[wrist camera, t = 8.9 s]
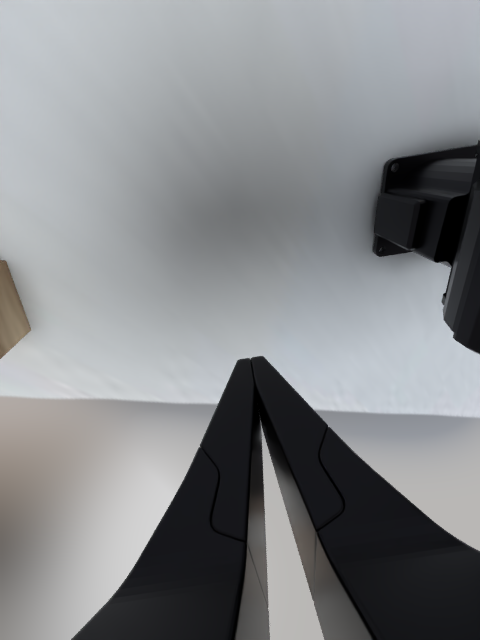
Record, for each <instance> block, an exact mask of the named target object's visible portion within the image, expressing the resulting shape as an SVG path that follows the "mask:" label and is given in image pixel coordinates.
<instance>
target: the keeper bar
mask: <svg viewBox="0 0 480 640" xmlns="http://www.w3.org/2000/svg"><path fill="white" fill-rule="evenodd" d="M30 331H31V328H30V325H29V322H28V320H27V317H26V314H25V311H24V309H23V306H22V303H21V300H20V298H19V295H18V292H17V290H16V287H15V284H14V281H13V279H12V276H11V273H10V270H9V268H8V265H7V262H6V261H2V260H0V359H1V358H2V357H3V356H4V355H5V354H6V353H7V352H8V351H9V350H10V349H11V348H13V347H14V346H15V345H16V344H17V343H18V342H19V341H20V340H21V339H22V338H23V337H24V336H25V335H26V334H27V333H29V332H30Z"/></svg>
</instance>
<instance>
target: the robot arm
mask: <svg viewBox="0 0 480 640" xmlns="http://www.w3.org/2000/svg"><path fill="white" fill-rule="evenodd" d="M476 154H478V155H477V156H476V157H475V155H476ZM393 164H395V169H394V170H393V171H391V167H392V165H393ZM374 233H375V241H374V248H373V252H374V254H376V255H377V256H379V257H382V256H388V255H395V254H401V253H407V252H415V253H417V254H419V255H421V256H423V257H425V258H427V259H429V260H431V261H434V262H437V263H439V262H440V263H442V264H444V265H446V266H448V267H450V268H451V272H450V276H449V281H448V285H447V289H446V293H444V294H443V298H442V303H443V305H444V308H443V317H444V321H445V322H446V323H447V325H448V326H449V327H450V329H451V330H452V331H453V332H454V335H453V338H454V339H455V340H456V341H458V342H459V343H461V344H462V345H464V346H465V347H467V348H468V349H470V350H472V351H474V352H476V353H478V354H480V140H478V144H477V145H471V146H465V147H459V148H453V149H447V150H441V151H435V152H429V153H423V154H417V155H411V156H405V157H399V158H393V159H390V160H389V161H388V162H387V163H386V165H385V167H384V173H383V180H382V188H381V194H380V196H379V197H378V204H377V211H376V219H375V227H374ZM382 247H383V249H382V251H380V252H379V250H380V248H382ZM259 414H260V415H259ZM260 420H261V422H260ZM261 425H262V428H263V432H264V436H265V439H266V443H267V446H268V449H269V453H270V456H271V460H272V463H273V466H274V470H275V473H276V476H277V480H278V483H279V487H280V490H281V494H282V497H283V500H284V504H285V507H286V510H287V514H288V517H289V521H290V524H291V527H292V531H293V534H294V538H295V541H296V544H297V548H298V551H299V555H300V557H301V561H302V565H303V568H304V571H305V575H306V578H307V582H308V585H309V588H310V592H311V595H312V599H313V601H314V605H315V609H316V612H317V616H318V619H319V622H320V626H321V629H322V633H323V636H324V639H325V640H480V551H478V550H476V549H474V548H472V547H470V546H469V545H467V544H465V543H464V542H462V541H460V540H459V539H457V538H456V537H454V536H453V535H451V534H450V533H448V532H447V531H445V530H444V529H443V528H441V527H440V526H439V525H437V524H436V523H435V522H434V521H432V520H431V519H430V518H429V517H428V516H427V515H425V514H424V513H423V512H422V511H421V510H419V509H418V508H417V507H416V506H415V505H414V504H413V503H411V502H410V501H409V500H408V499H407V498H406V497H405V496H403V495H402V494H401V493H400V492H399V491H397V490H396V489H395V488H394V487H393V486H392V485H391V484H390V483H388V482H387V481H386V480H385V479H384V478H383V477H381V476H380V475H379V474H378V473H377V472H375V471H374V470H373V469H372V468H371V467H370V466H369V465H368V464H367V463H365V461H363V460H362V459H361V458H360V457H359V456H358V455H357V454H356V453H354V451H353V450H352V449H351V448H350V447H349V446H348V445H347V444H346V443H345V442H344V441H343V440H342V439H341V438H340V437H339V436H338V435H337V434H336V433H335V432H334V431H333V430H332V429H331V428H330V427H328V425H327V424H326V423H325V421H323V419H322V418H321V417H320V416H319V415H318V414H317V413H316V412H315V411H314V410H313V409H312V408H311V407H310V405H309V404H308V403H307V402H306V401H305V400H304V399H303V398H302V397H301V396H300V395H299V394H298V393H297V392H296V391H295V389H294V388H293V387H292V386H291V385H290V384H289V383H288V382H287V381H286V380H285V379H284V378H283V377H282V376H281V375H280V373H279V372H278V371H277V370H276V369H275V368H274V367H273V366H272V365H271V364H270V363H269V362H268V361H267V360H266V359H265V358H264V357H263V356H258V357H252V358H251V360H250V358H246V359H239V360H238V361H237V363H236V365H235V367H234V370H233V372H232V374H231V376H230V379H229V381H228V383H227V385H226V388H225V390H224V392H223V394H222V397H221V399H220V401H219V403H218V406H217V408H216V410H215V412H214V415H213V417H212V419H211V421H210V424H209V426H208V428H207V430H206V433H205V435H204V437H203V439H202V442H201V444H200V447H199V448H198V450H197V453H196V455H195V457H194V459H193V462H192V464H191V466H190V468H189V470H188V472H187V474H186V476H185V478H184V480H183V482H182V484H181V486H180V488H179V489H178V491H177V493H176V495H175V497H174V499H173V501H172V502H171V504H170V506H169V507H168V509H167V511H166V512H165V514H164V516H163V518H162V519H161V521H160V523H159V525H158V526H157V528H156V530H155V531H154V533H153V535H152V537H151V538H150V540H149V542H148V544H147V545H146V547H145V549H144V550H143V552H142V554H141V556H140V557H139V559H138V561H137V562H136V564H135V566H134V567H133V569H132V570H131V572H130V573H129V575H128V576H127V578H126V579H125V581H124V582H123V583H122V585H121V586H120V587H119V589H118V590H117V591H116V593H115V594H114V595H113V596H112V597H111V598H110V600H109V601H108V602H107V603H106V604H105V605H104V606H103V607H102V608H101V609H100V610H99V611H98V612H97V613H96V614H95V616H94V617H93V618H92V619H91V620H90V621H89V622H88V623H87V624H86V625H85V626H84V627H83V628H82V629H81V630H80V631H79V632H78V633H77V634H76V635H75V636H74V637H73V638H72V639H71V640H270V634H269V611H268V586H267V560H266V535H265V511H264V510H265V509H264V484H263V460H262V434H261Z"/></svg>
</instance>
